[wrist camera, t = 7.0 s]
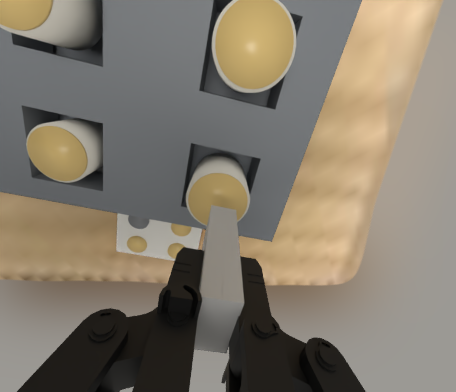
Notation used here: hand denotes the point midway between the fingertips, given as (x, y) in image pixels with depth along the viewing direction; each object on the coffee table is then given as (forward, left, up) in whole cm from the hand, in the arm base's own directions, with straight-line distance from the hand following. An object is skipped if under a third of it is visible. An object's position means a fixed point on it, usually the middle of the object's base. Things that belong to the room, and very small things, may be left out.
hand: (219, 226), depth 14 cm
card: (-6, -10, -12) cm, 17 cm away
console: (-7, +5, -12) cm, 15 cm away
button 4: (0, +10, -8) cm, 13 cm away
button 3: (0, 0, -8) cm, 8 cm away
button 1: (-13, 0, -11) cm, 17 cm away
